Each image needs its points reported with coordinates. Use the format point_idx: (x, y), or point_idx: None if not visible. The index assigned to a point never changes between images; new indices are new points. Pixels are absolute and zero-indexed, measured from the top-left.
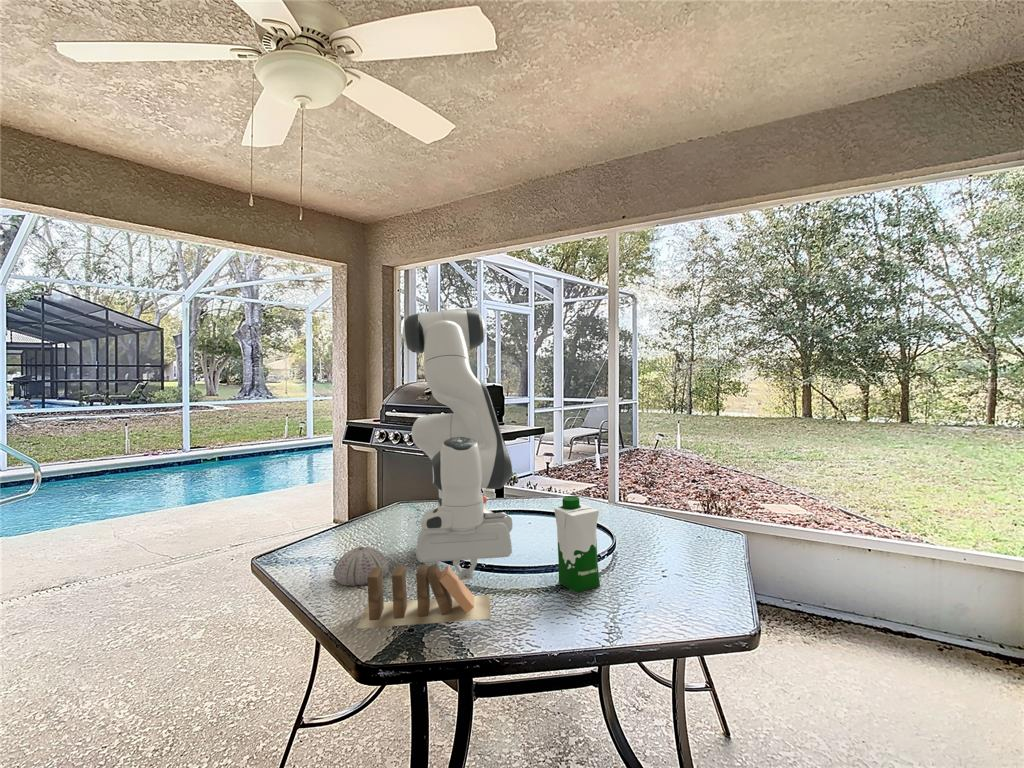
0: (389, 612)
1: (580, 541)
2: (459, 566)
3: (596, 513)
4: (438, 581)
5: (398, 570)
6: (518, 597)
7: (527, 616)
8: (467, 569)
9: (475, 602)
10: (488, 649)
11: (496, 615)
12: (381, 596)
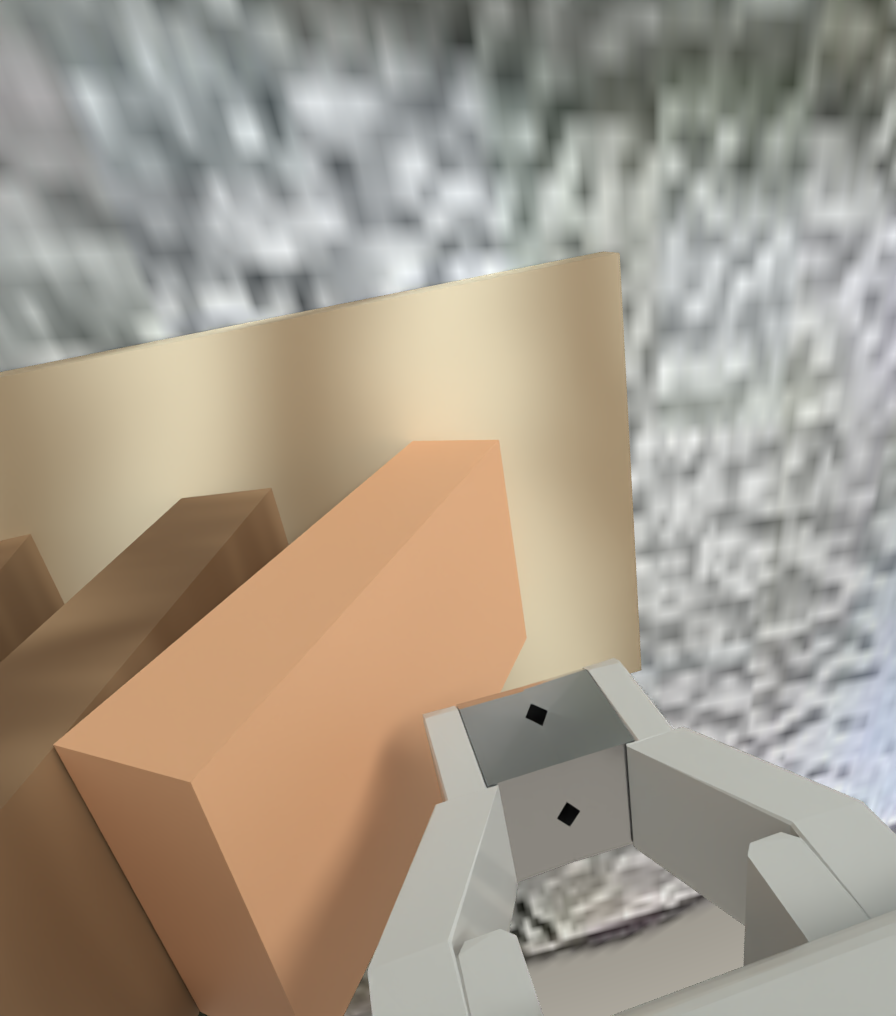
0: None
1: None
2: (487, 894)
3: None
4: (191, 1013)
5: None
6: (856, 220)
7: (863, 540)
8: (594, 772)
9: (495, 436)
10: (624, 881)
11: (663, 554)
12: None
